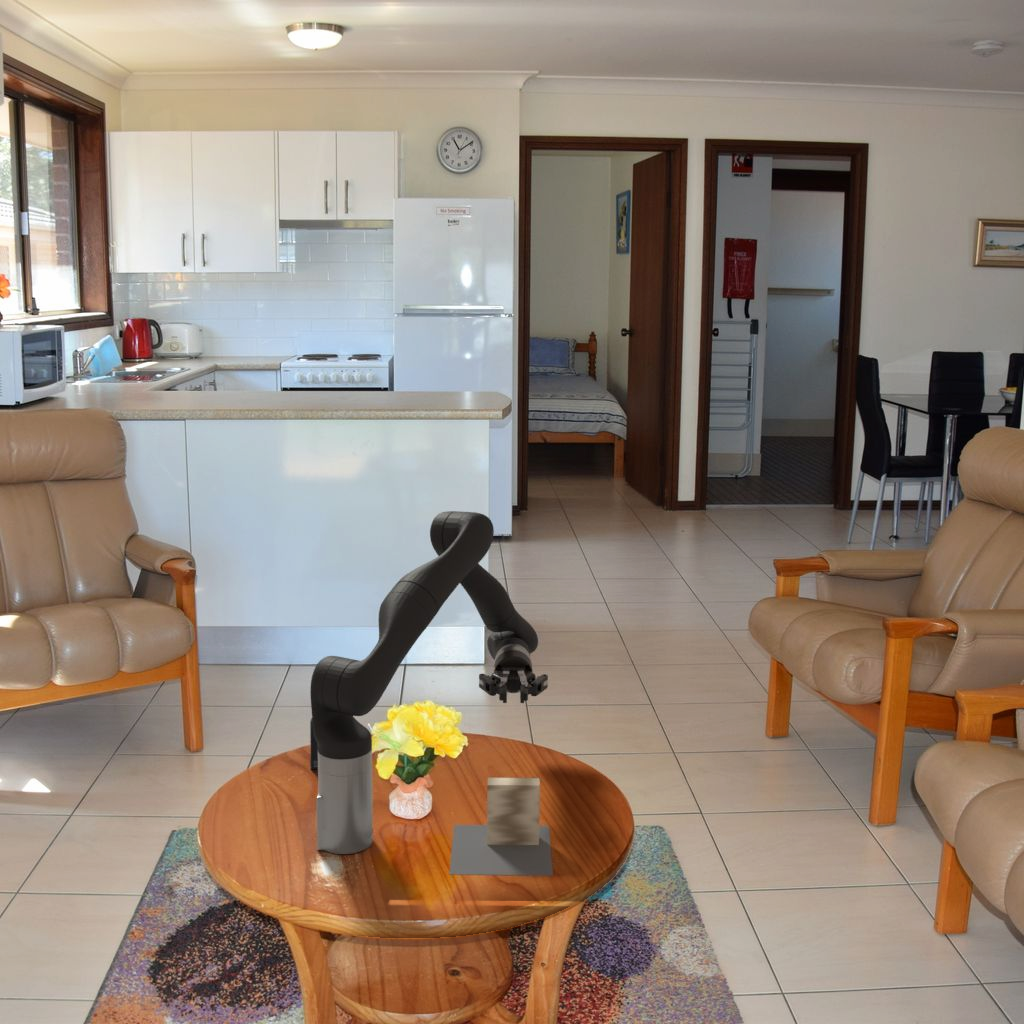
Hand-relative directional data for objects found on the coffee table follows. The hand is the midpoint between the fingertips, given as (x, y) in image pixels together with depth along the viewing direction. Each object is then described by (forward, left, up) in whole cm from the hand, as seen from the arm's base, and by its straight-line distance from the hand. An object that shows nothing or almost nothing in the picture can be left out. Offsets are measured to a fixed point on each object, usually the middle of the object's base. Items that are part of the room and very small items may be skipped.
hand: (513, 697), depth 212 cm
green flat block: (0, -13, -21) cm, 25 cm away
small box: (-37, +23, -22) cm, 49 cm away
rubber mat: (-2, -16, -22) cm, 27 cm away
